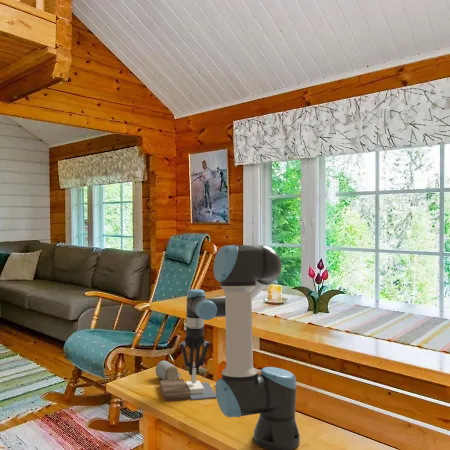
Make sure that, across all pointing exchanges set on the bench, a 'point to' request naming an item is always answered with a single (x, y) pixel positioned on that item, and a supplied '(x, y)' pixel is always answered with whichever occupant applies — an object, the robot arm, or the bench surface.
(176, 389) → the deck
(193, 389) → the white rectangular block
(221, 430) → the bench surface
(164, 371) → the ceramic mug
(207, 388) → the mat
